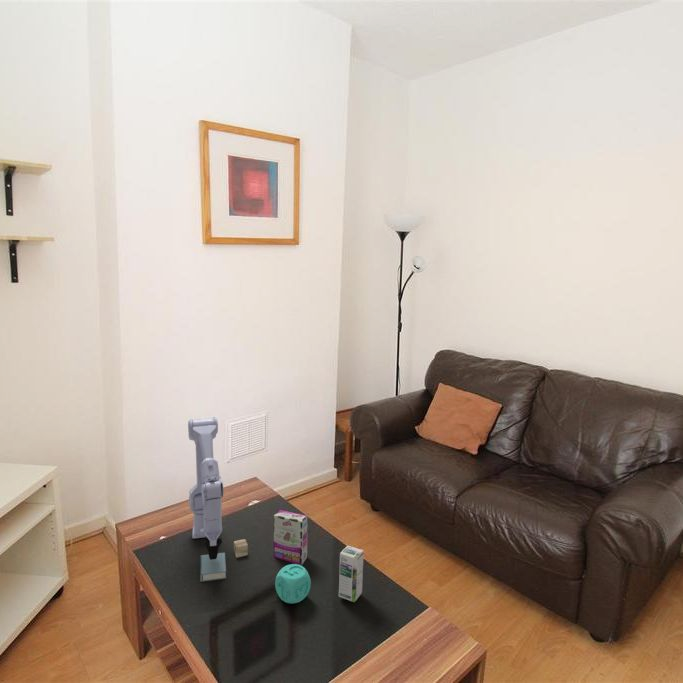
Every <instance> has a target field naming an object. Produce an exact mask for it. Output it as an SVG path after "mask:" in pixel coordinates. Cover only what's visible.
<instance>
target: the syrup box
mask: <svg viewBox="0 0 683 683" xmlns="http://www.w3.org/2000/svg"><path fill="white" fill-rule="evenodd" d="M363 571H364V549H361V548H360V549H359V548H357V547H354V546H350V545H346V546H345V548H343V549H342V551H341V552H339V578H338V580H339V581H338V583H339V584H338V597H339V598H341V599H344V600H348V601H349V602H353V603H355V602H356V601H357V600H358V598H359V597H360V596H361V594H362V593H363V580H364V578H363V574H364V572H363Z"/></svg>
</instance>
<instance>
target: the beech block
mask: <svg viewBox="0 0 683 683" xmlns="http://www.w3.org/2000/svg"><path fill="white" fill-rule="evenodd" d="M248 551H249V545H248V542H247V540H246V539H245V538H244V539H243V538H242V539H238V540H235V541H233V554H234V555H235V558H236V559H237V558H241V557H245V556H248V555H249V553H248Z"/></svg>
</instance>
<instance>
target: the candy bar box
mask: <svg viewBox="0 0 683 683" xmlns="http://www.w3.org/2000/svg"><path fill="white" fill-rule="evenodd" d="M308 516H309V515H305V514H301V513H295V512H291V511H287V510H283V509H282V510H281V509H279V510H278V512H276V513H275V514H274V515H273V557H274V558H277V559H280V560H283V561H285V562H290V563H292V564H298V565H301V566H303V565H304V562H305V561H307V559H308V532H309V530H308V528H309V527H308V526H309V524H308V522H309V520H308V519H309V517H308Z"/></svg>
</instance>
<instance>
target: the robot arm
mask: <svg viewBox="0 0 683 683" xmlns="http://www.w3.org/2000/svg"><path fill="white" fill-rule="evenodd" d="M218 422H219V421H218V418H216V417H214V416H213V417H205V418H195V419H192V418H190V419H189V420H188V422H187V427H188V429H187V430H188V439H189V440H190V441H194V444H195V467H196V470H195V471H196V483H195V485H194V486H192V487H191V488H190V489H189V492H188V493H189V494H188V495H189V496H188V505H189V510H190V512H193V525H192V539H200V538H204V539H203V543H204V544H203V545H204V546H205V547H206V549H207V555H208V554H209V558H210V560H213V559H216V558H217V554H218V553H219V549H220V547H221V544H222V542H223V539H222V537H221V538H220V535H221V533H222V532H223V526H222V525H223V524H222V518H223V515H222V513H223V512H222V498H223V497H224V493H225V492H224V483H223V480H222V477H221V476H220V471H219V470H220V469H219V464H218V461H217V460H216V459H215V458H214V446H213V444H214V442H213V440H214V439H215V438H216V437H217V435H218V432H219V425H218Z"/></svg>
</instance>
